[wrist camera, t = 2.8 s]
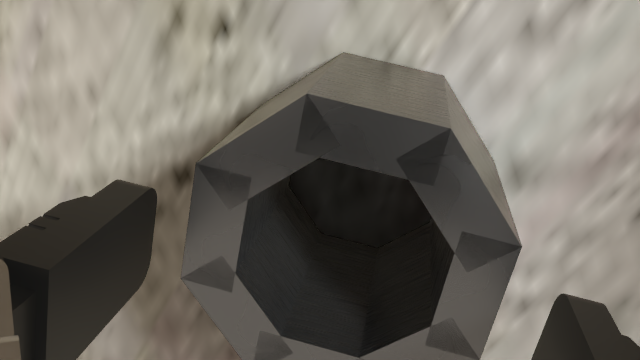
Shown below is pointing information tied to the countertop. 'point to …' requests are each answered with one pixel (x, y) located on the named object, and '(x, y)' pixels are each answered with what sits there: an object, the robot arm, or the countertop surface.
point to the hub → (342, 255)
